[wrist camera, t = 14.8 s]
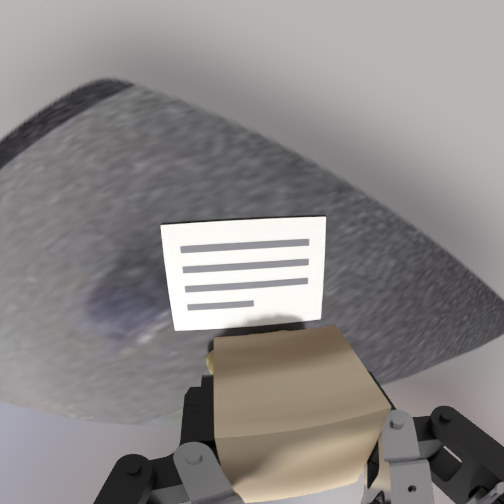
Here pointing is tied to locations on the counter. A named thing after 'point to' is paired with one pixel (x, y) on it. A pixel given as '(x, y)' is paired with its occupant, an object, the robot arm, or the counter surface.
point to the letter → (244, 271)
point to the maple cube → (293, 412)
